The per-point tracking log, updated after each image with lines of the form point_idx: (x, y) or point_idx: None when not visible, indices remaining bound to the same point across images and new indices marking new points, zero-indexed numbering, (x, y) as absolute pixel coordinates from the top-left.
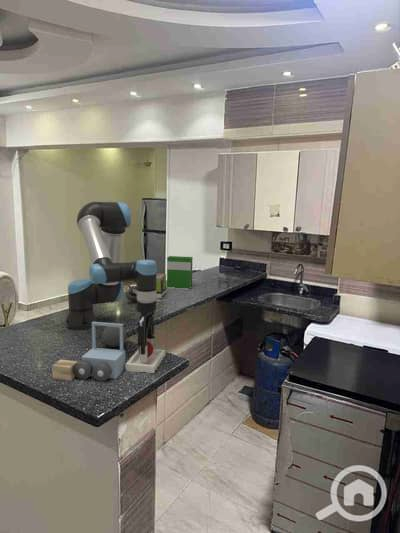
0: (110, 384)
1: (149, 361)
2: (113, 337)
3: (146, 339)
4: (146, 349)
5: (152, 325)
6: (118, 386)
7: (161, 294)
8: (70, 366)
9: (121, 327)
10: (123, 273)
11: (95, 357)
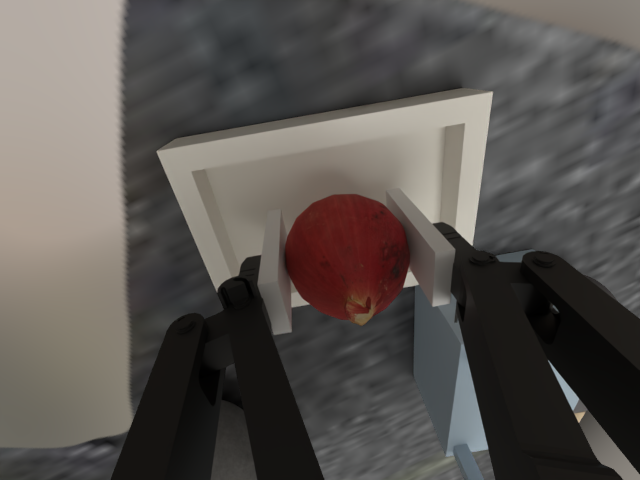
0: (584, 243)
1: (325, 192)
2: (252, 459)
3: (492, 299)
4: (439, 233)
5: (177, 452)
6: (608, 203)
7: None
8: (575, 415)
9: None
10: None
11: (568, 400)
